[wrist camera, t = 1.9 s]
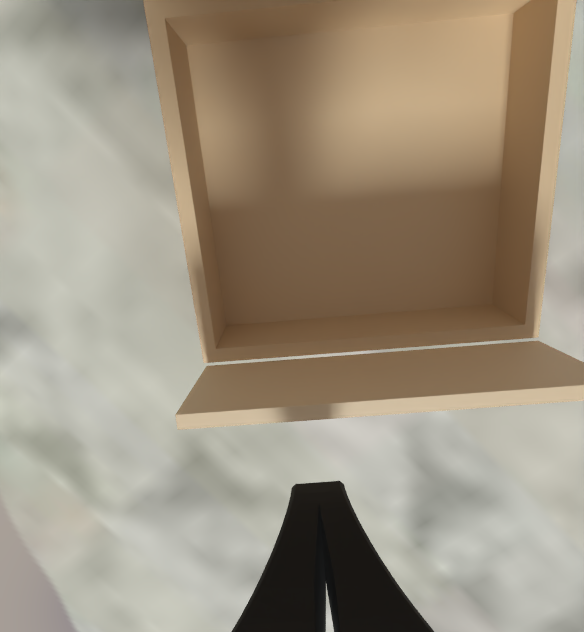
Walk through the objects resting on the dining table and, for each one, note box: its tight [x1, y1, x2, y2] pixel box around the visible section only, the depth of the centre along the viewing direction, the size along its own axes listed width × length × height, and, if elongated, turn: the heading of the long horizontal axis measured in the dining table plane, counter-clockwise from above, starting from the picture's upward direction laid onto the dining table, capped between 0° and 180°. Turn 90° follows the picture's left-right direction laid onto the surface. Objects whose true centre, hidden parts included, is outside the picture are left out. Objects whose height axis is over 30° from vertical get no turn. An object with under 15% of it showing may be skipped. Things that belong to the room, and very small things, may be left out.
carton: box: [143, 0, 577, 363], centre depth 17 cm, size 14×13×4 cm
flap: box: [176, 341, 584, 430], centre depth 15 cm, size 14×4×1 cm
